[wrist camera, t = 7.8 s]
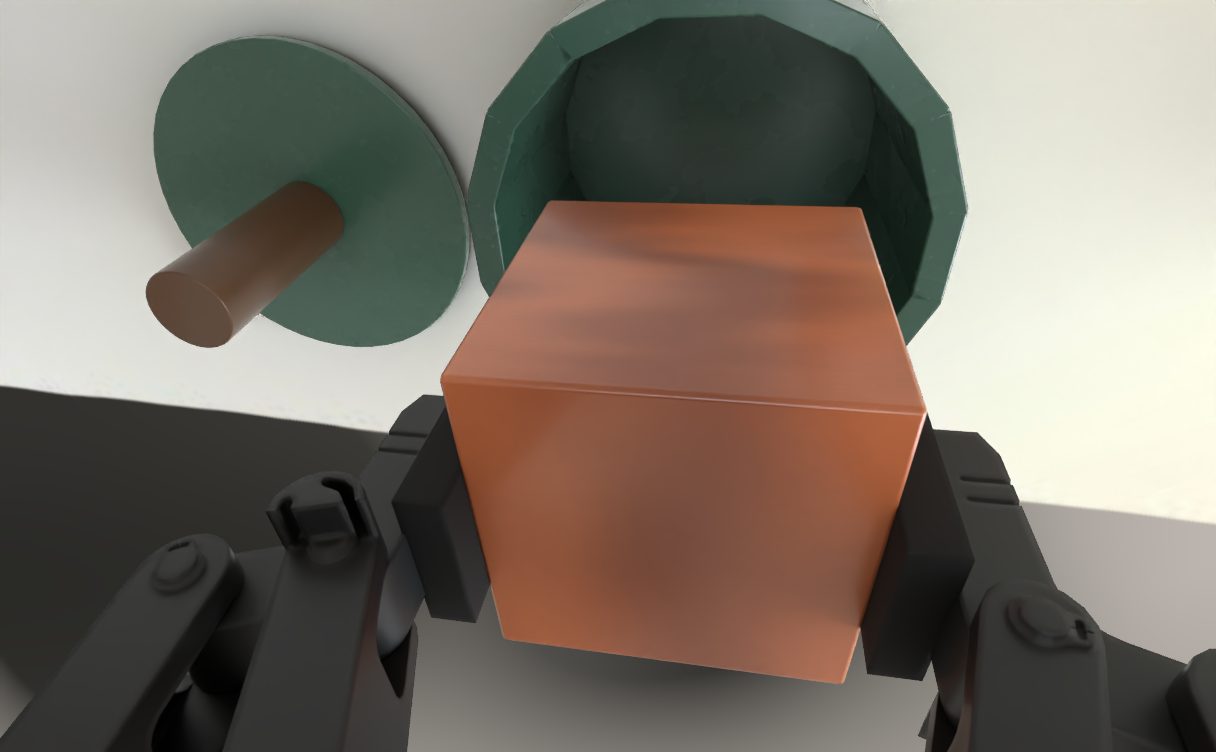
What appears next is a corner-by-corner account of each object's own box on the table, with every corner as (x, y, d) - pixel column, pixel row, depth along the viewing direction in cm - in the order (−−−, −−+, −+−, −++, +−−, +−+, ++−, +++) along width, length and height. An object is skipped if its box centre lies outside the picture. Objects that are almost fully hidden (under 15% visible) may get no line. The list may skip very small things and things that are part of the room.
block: (571, 426, 17) (501, 641, 12) (547, 198, 13) (435, 378, 9) (817, 445, 16) (844, 688, 11) (862, 205, 12) (932, 411, 8)
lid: (243, 327, 35) (111, 446, 28) (113, 35, 27) (-122, 97, 19) (496, 341, 33) (425, 475, 25) (440, 27, 24) (311, 94, 17)
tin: (565, 278, 30) (504, 416, 22) (533, -55, 22) (425, -16, 15) (859, 290, 28) (901, 446, 20) (932, -72, 20) (1041, -38, 13)
